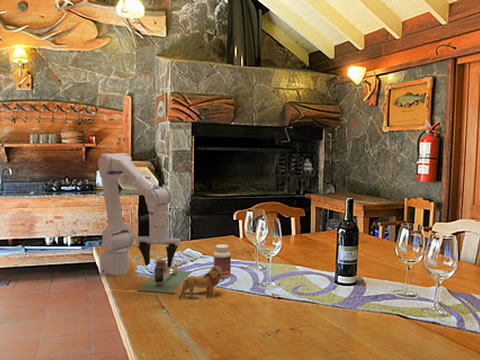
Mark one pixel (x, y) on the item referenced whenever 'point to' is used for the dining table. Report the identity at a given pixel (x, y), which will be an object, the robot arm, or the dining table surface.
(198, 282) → the lion figurine
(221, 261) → the pill bottle
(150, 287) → the green flat rectangular slab
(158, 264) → the walnut block
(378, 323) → the dining table surface
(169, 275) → the lever
